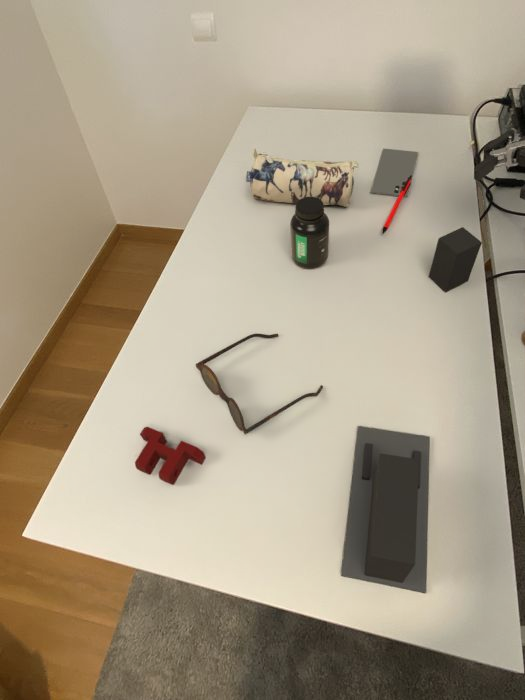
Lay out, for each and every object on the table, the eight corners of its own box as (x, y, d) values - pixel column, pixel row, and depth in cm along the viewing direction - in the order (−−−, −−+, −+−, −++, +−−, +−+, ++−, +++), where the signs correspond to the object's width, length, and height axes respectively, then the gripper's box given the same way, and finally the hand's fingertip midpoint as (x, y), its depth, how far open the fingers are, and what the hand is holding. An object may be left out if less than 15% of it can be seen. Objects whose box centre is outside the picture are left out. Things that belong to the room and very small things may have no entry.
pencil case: (247, 207, 104) (242, 166, 96) (257, 183, 109) (253, 141, 101) (352, 217, 100) (356, 174, 92) (358, 190, 105) (361, 148, 97)
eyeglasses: (198, 375, 80) (192, 357, 76) (274, 331, 84) (272, 312, 80) (246, 443, 73) (243, 427, 69) (328, 391, 77) (329, 373, 73)
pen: (412, 178, 105) (413, 173, 104) (384, 236, 96) (384, 231, 95) (408, 177, 105) (409, 172, 104) (379, 235, 96) (380, 230, 95)
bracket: (202, 449, 69) (142, 424, 72) (181, 485, 67) (120, 458, 70) (205, 457, 72) (147, 433, 75) (186, 493, 69) (126, 466, 72)
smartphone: (418, 151, 110) (408, 195, 102) (417, 154, 111) (407, 197, 102) (383, 148, 112) (370, 190, 103) (383, 150, 113) (370, 193, 104)
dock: (429, 438, 71) (443, 404, 63) (425, 593, 59) (442, 575, 51) (357, 427, 73) (363, 393, 65) (340, 576, 61) (345, 555, 53)
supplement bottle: (303, 275, 92) (302, 223, 82) (285, 253, 95) (282, 201, 86) (335, 260, 93) (337, 208, 83) (315, 240, 97) (316, 187, 87)
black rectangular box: (468, 281, 87) (482, 242, 80) (445, 292, 86) (457, 254, 79) (450, 266, 90) (462, 226, 83) (428, 276, 89) (438, 237, 82)
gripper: (612, 162, 76) (536, 221, 74) (531, 136, 86) (461, 188, 84) (623, 116, 71) (541, 179, 69) (535, 94, 80) (461, 149, 78)
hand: (497, 184), depth 76 cm, fingers open, 8 cm apart
